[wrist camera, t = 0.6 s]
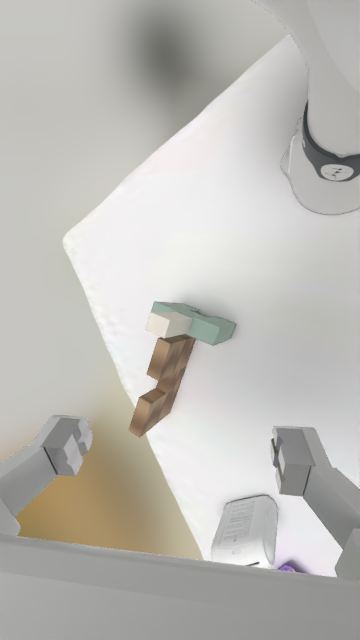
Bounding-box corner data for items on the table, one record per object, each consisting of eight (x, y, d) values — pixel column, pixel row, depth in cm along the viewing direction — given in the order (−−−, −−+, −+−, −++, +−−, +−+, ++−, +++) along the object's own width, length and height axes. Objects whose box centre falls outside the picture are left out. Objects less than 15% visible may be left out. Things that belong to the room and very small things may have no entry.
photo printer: (232, 523, 49) (215, 586, 38) (222, 501, 50) (203, 557, 39) (281, 514, 45) (279, 581, 34) (270, 491, 46) (263, 549, 35)
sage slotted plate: (182, 303, 52) (124, 299, 34) (236, 323, 48) (202, 331, 30) (178, 316, 53) (119, 319, 35) (230, 338, 48) (194, 354, 30)
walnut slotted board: (185, 332, 52) (158, 337, 41) (196, 336, 51) (170, 343, 40) (160, 406, 55) (128, 430, 44) (170, 412, 54) (139, 437, 43)
